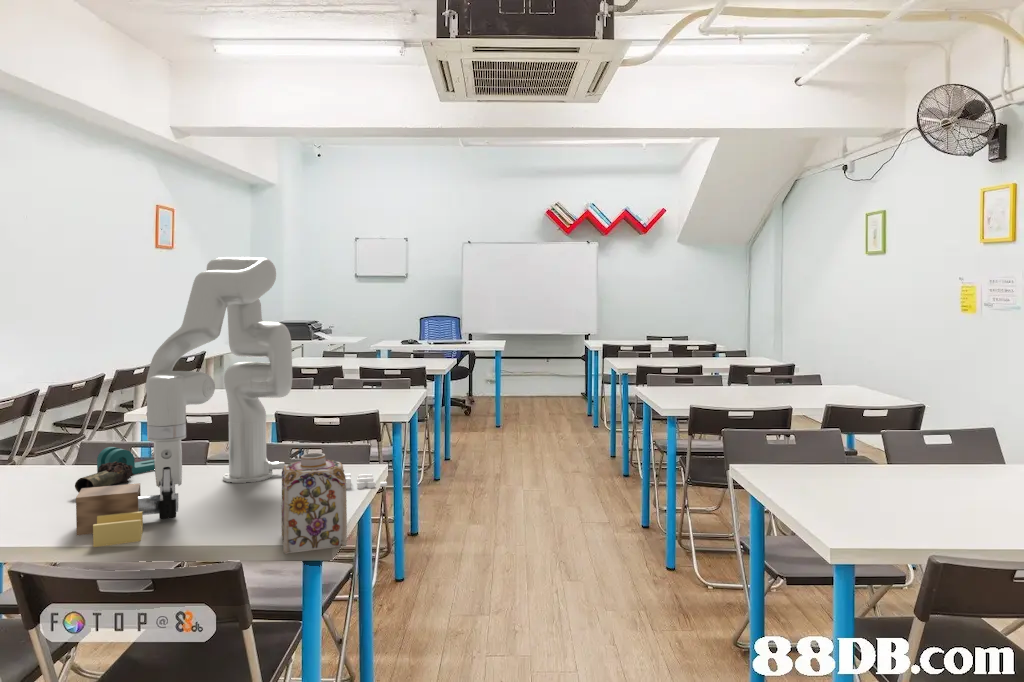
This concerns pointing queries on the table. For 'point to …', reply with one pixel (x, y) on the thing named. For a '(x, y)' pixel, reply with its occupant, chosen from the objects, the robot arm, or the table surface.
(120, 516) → the ochre V-block
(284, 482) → the decorative jar
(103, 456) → the bracket
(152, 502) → the steel axle
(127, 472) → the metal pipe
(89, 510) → the walnut block
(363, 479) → the modular blocks
